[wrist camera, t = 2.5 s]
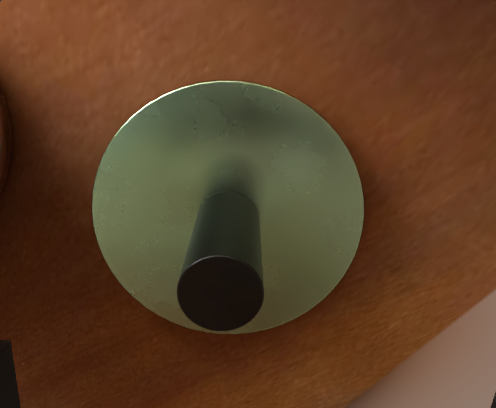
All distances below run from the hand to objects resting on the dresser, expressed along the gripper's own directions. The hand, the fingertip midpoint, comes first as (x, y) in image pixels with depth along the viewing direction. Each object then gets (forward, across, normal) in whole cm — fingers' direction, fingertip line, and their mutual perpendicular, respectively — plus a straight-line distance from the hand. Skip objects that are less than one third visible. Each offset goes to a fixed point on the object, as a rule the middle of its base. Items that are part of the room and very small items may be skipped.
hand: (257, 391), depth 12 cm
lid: (+15, -1, -1) cm, 15 cm away
